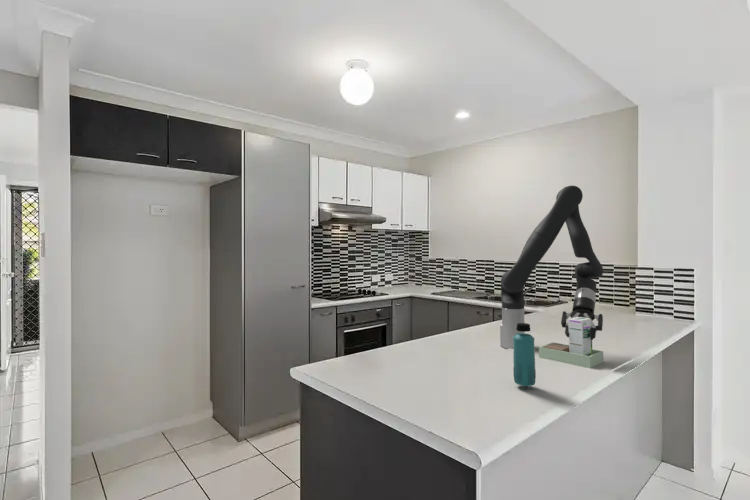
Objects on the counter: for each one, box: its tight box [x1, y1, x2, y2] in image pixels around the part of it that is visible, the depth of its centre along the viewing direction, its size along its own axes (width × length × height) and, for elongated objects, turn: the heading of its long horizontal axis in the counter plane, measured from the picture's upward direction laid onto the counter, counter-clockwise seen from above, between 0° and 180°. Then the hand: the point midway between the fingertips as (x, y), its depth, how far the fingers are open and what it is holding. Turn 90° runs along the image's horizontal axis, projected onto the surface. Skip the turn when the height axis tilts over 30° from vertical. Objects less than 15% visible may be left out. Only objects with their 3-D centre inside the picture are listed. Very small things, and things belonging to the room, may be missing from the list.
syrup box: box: [567, 317, 593, 356], centre depth 153 cm, size 6×6×14 cm
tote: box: [538, 342, 604, 369], centre depth 156 cm, size 19×11×5 cm, turn 39°
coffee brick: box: [544, 343, 569, 352], centre depth 160 cm, size 7×8×4 cm
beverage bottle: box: [512, 322, 537, 387], centre depth 128 cm, size 6×7×20 cm
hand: (579, 337), depth 152 cm, fingers closed on syrup box, 7 cm apart
